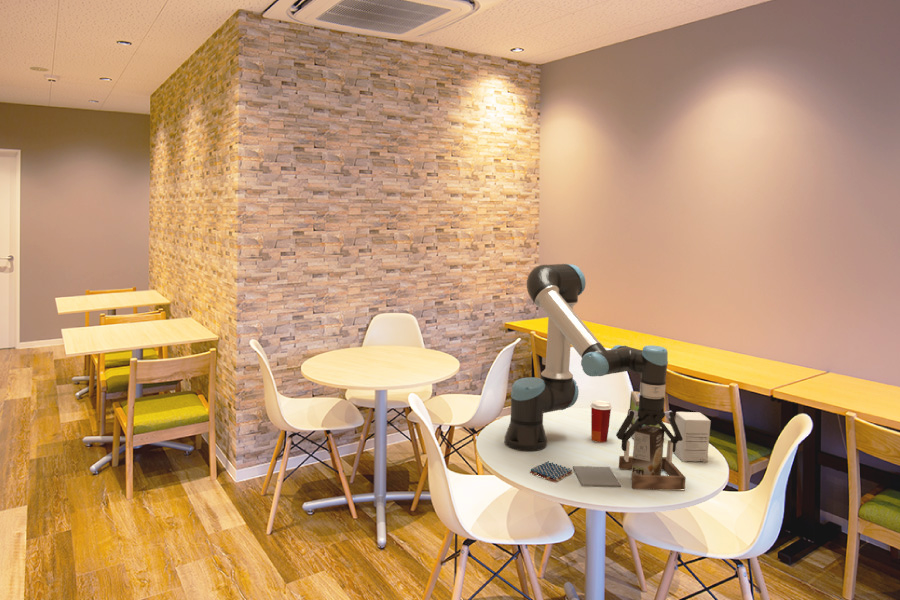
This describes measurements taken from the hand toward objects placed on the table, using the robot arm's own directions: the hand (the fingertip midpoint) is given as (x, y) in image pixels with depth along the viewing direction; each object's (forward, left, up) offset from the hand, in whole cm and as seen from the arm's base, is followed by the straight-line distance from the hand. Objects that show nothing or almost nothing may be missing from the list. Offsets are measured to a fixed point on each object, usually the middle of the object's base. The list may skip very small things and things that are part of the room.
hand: (647, 460), depth 198 cm
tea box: (+12, +42, -6) cm, 44 cm away
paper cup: (-7, +34, -6) cm, 35 cm away
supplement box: (+21, +19, -6) cm, 29 cm away
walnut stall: (+1, 0, -6) cm, 6 cm away
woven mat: (-30, +2, -7) cm, 31 cm away
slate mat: (-16, 0, -6) cm, 17 cm away
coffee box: (0, 0, -6) cm, 6 cm away
